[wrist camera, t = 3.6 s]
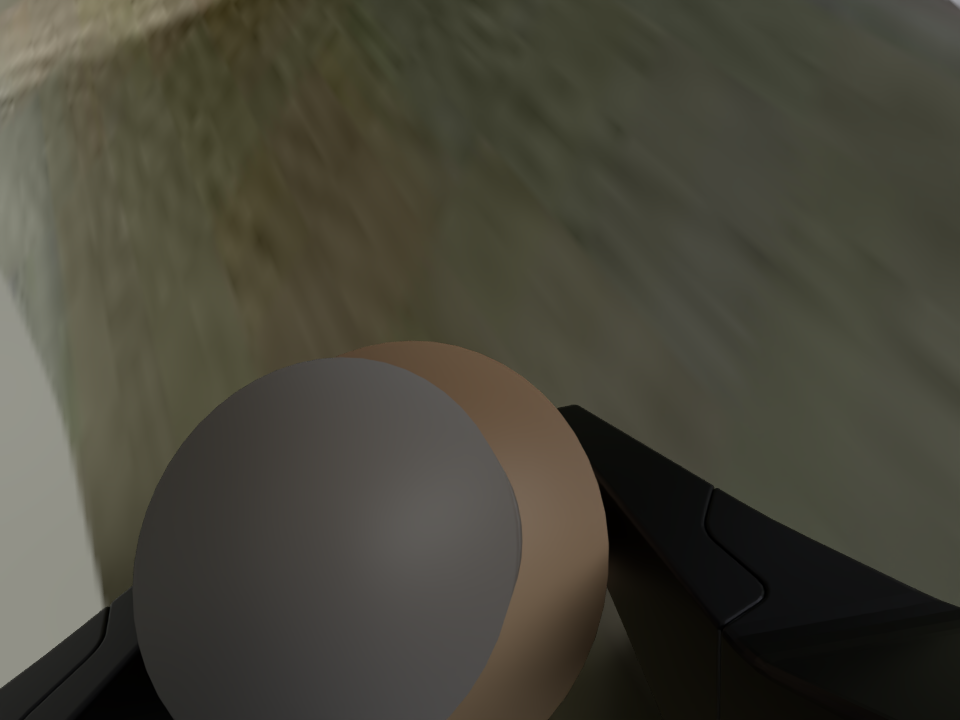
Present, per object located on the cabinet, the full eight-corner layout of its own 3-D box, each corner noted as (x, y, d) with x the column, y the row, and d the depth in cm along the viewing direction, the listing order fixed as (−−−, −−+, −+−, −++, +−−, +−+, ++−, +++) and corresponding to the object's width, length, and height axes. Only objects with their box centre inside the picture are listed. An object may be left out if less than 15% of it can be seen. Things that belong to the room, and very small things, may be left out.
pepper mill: (539, 635, 14) (559, 1165, 2) (389, 582, 15) (-114, 787, 3) (576, 474, 15) (703, 325, 4) (437, 435, 16) (191, 215, 5)
